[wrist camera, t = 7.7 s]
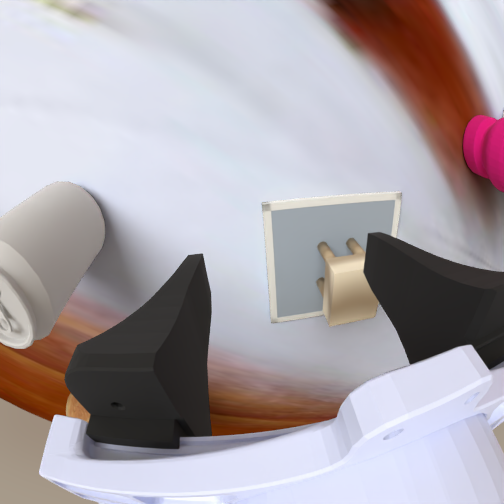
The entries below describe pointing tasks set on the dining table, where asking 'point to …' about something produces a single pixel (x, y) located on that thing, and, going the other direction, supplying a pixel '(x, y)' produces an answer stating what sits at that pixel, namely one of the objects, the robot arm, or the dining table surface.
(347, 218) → the mat
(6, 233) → the can
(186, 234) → the dining table surface
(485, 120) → the pepper mill
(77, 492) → the robot arm
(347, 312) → the small wooden stool
